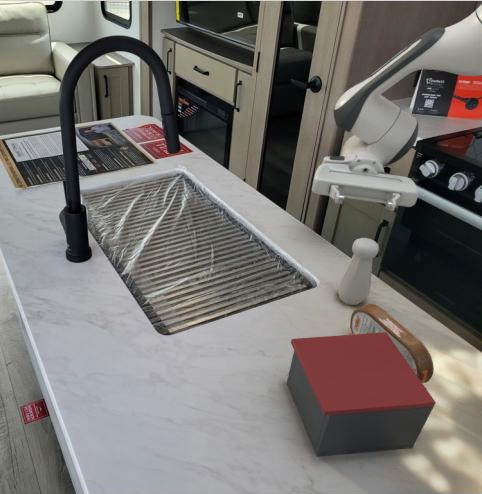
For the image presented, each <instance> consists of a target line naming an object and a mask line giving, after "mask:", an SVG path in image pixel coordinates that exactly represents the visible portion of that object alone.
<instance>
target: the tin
mask: <svg viewBox="0 0 482 494" xmlns="http://www.w3.org/2000/svg"><path fill="white" fill-rule="evenodd" d="M349 323H350V324H349V325H350V326H349V327H350V331H351V335H354V334H368V333H382V332H387V334H388V335H389V337H390V338H391V340H392V341H393V342H394V344H395V345H396V347H397V348H398V349H399V351H400V352H401V354H402V355H403V357H404V358H405V359H406V361H407V362H408V364H409V365H410V367H411V368H412V369H413V371H414V372H415V374H416V375H417V376H418V378H419V379H420V381H421V382H422V384H425V383H428V382H429V381H430V380H431V379H432V377H433V375H434V369H435V368H434V362H433V358H432V355H431V353H430V352H429V350H428V348H427V347H426V345H425V344H424V343H423V341H422V340H420V338H419V337H417V336H416V335H415V334H413V333H412V332H411V331H410V330H409V329H408V328H406V327H405V326H404V325H403V324H402V323H401V322H399V321H398V320H397V319H396V318H395V317H394V316H392V315H391V314H390V313H389V312H388V311H387V310H385V309H384V308H383V307H382V306H381V305H378V304H376V303H366V304H364V305H363V306H360V307H358V308H355V309H354V310H353V311H352V313H351V316H350V322H349Z"/></svg>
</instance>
